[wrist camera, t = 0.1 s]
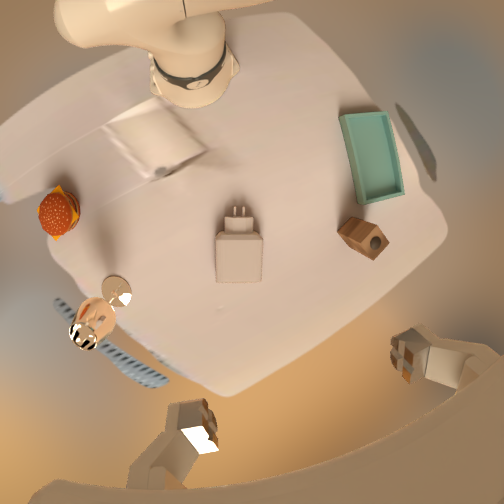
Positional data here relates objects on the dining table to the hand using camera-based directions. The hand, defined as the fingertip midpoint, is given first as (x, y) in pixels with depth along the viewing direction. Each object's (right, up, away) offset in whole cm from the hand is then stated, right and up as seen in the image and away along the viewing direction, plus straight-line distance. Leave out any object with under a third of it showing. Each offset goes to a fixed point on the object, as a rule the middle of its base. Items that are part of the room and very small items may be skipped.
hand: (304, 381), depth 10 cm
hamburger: (-44, +14, +41) cm, 62 cm away
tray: (+25, +27, +46) cm, 59 cm away
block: (+20, +10, +50) cm, 55 cm away
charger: (-5, +8, +48) cm, 49 cm away
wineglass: (-33, -4, +47) cm, 57 cm away
